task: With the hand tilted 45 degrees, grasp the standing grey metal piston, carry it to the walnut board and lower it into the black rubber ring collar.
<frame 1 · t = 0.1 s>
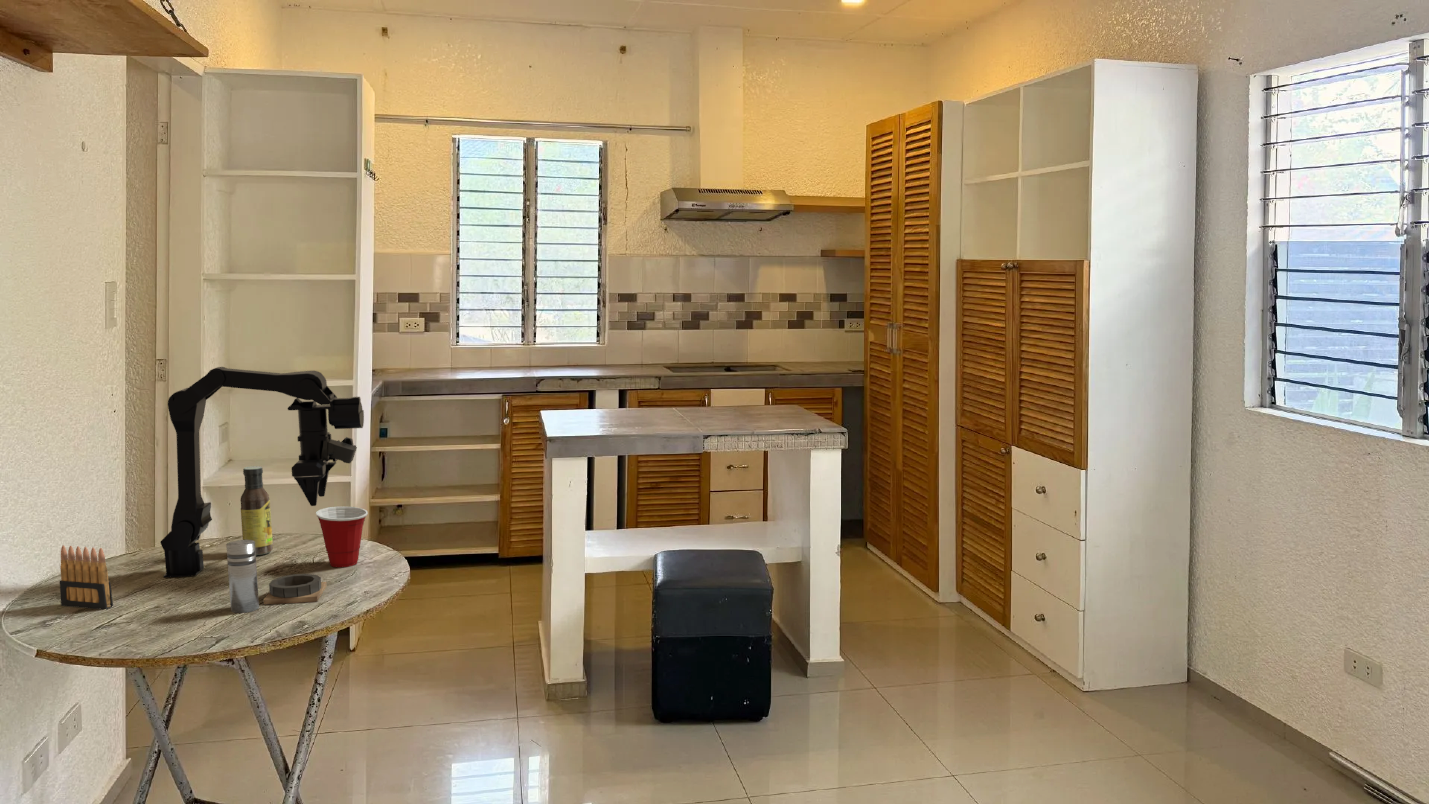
hand: (317, 501, 239), 15 cm above the table, tool pointing down, fingers open, 9 cm apart
ammunition clip: (87, 607, 215), on the table
plastic cup: (344, 564, 243), on the table
piston: (245, 608, 213), on the table
sauce bottle: (258, 554, 252), on the table
collar: (296, 595, 221), on the table
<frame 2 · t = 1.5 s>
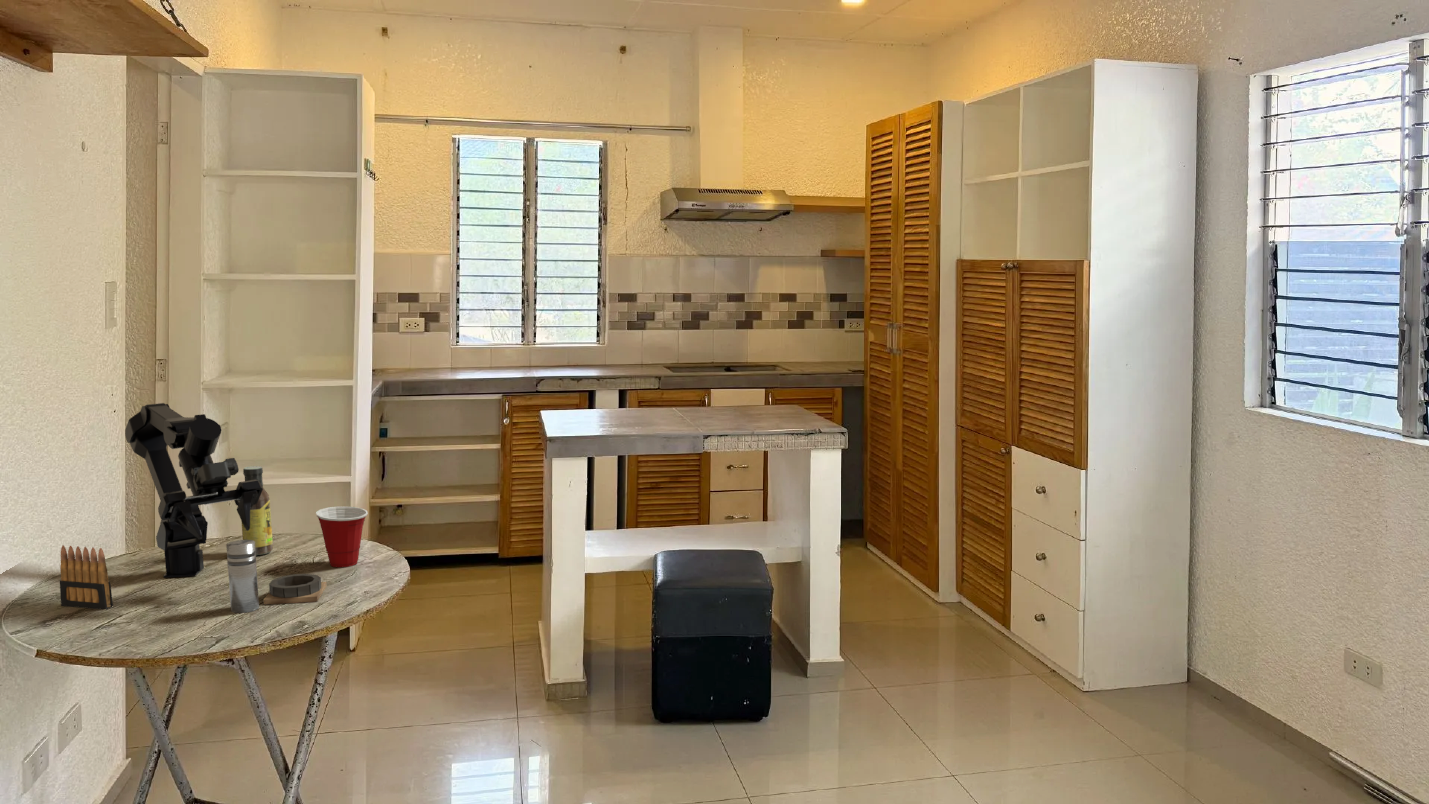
hand: (224, 533, 216), 13 cm above the table, tool tilted 45°, fingers open, 9 cm apart
nothing on the table moved.
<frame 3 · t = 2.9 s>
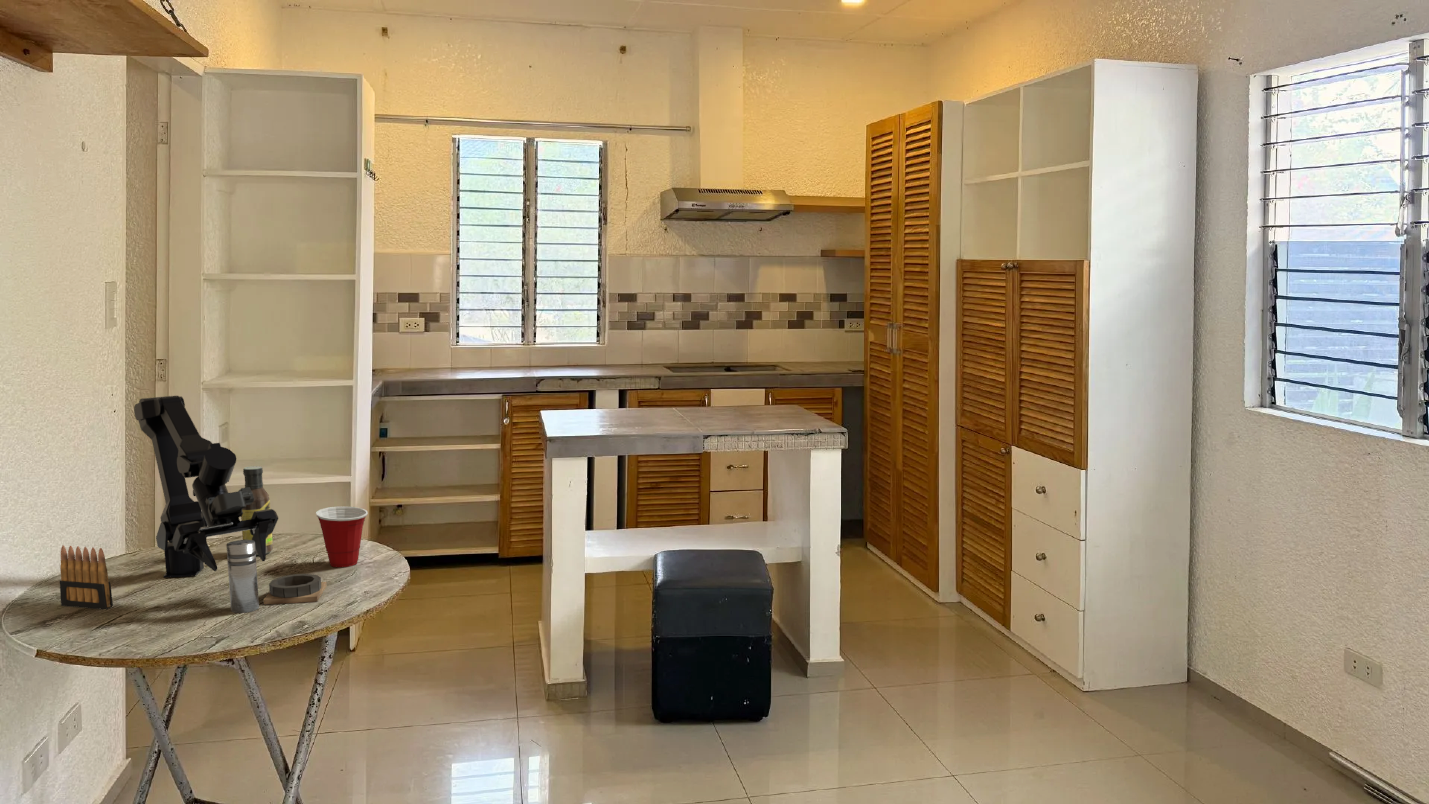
hand: (240, 564, 212), 9 cm above the table, tool tilted 45°, fingers open, 9 cm apart
nothing on the table moved.
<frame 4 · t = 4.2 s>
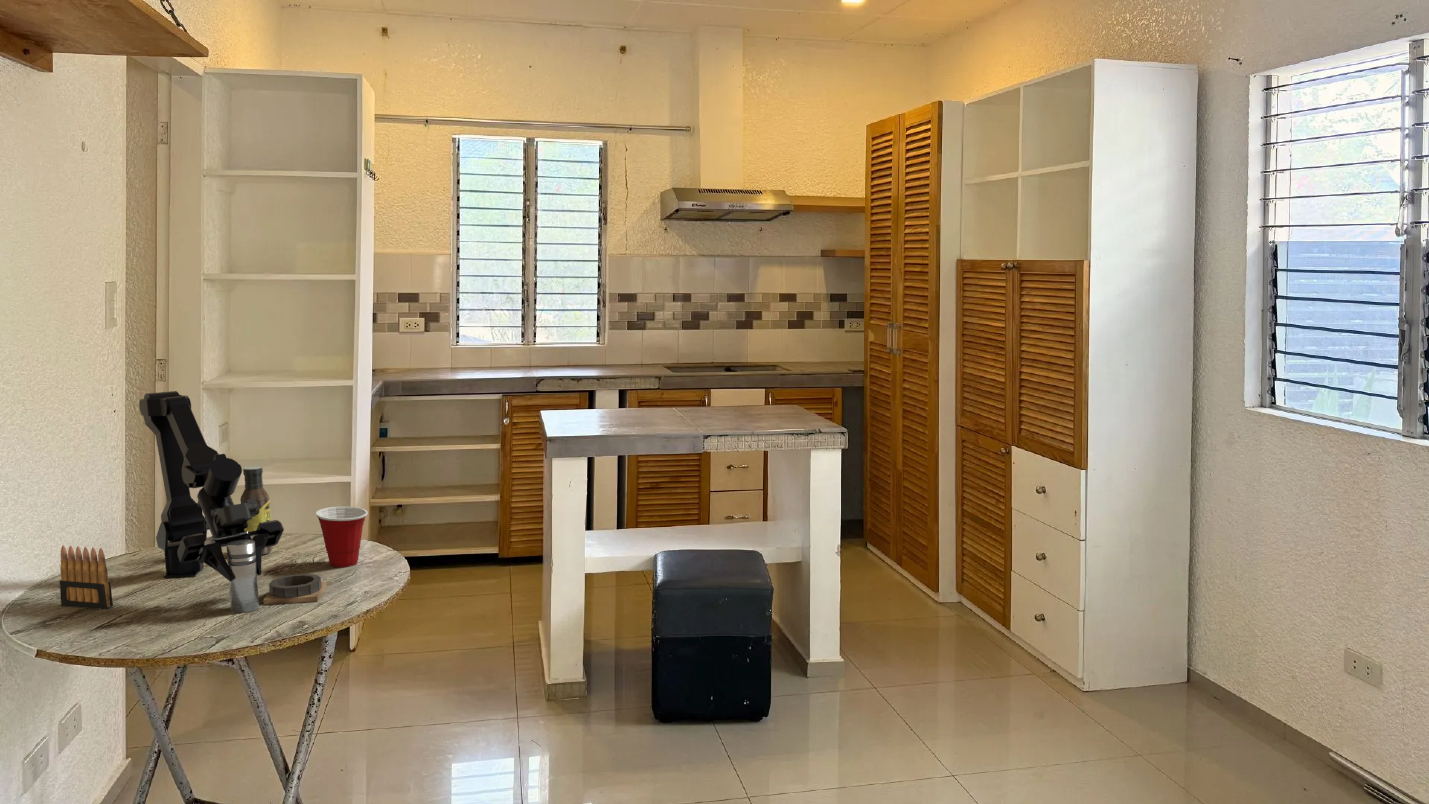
hand: (245, 577, 211), 7 cm above the table, tool tilted 45°, fingers closed on piston, 5 cm apart
piston: (245, 608, 213), on the table, touching gripper
everything else where it was.
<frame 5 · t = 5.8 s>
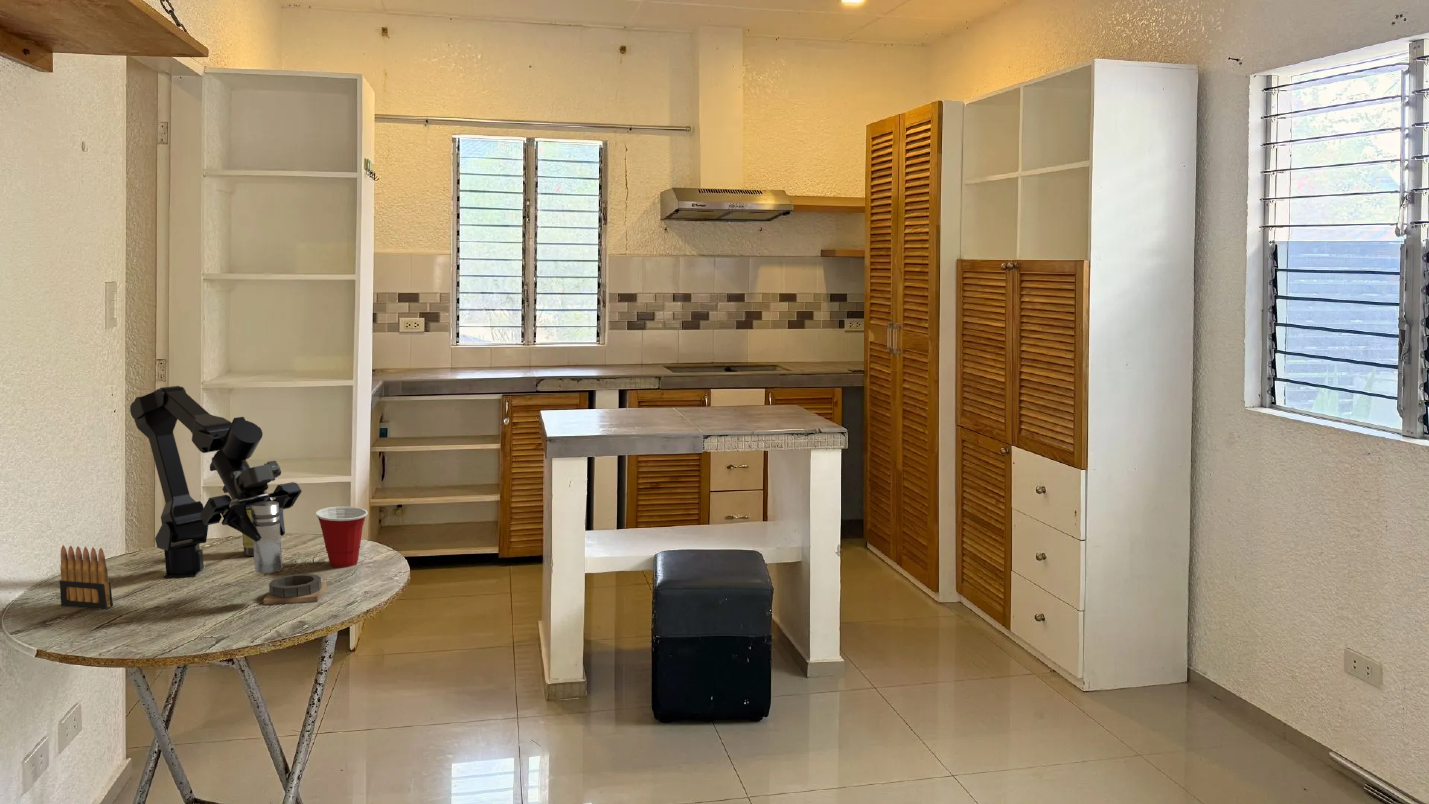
hand: (270, 537, 214), 13 cm above the table, tool tilted 45°, fingers closed on piston, 5 cm apart
piston: (268, 569, 215), point 7 cm above the table, touching gripper
everything else where it was.
when the fingers open (9 cm above the table, at t = 7.6 s): piston drops 1 cm, resting on collar.
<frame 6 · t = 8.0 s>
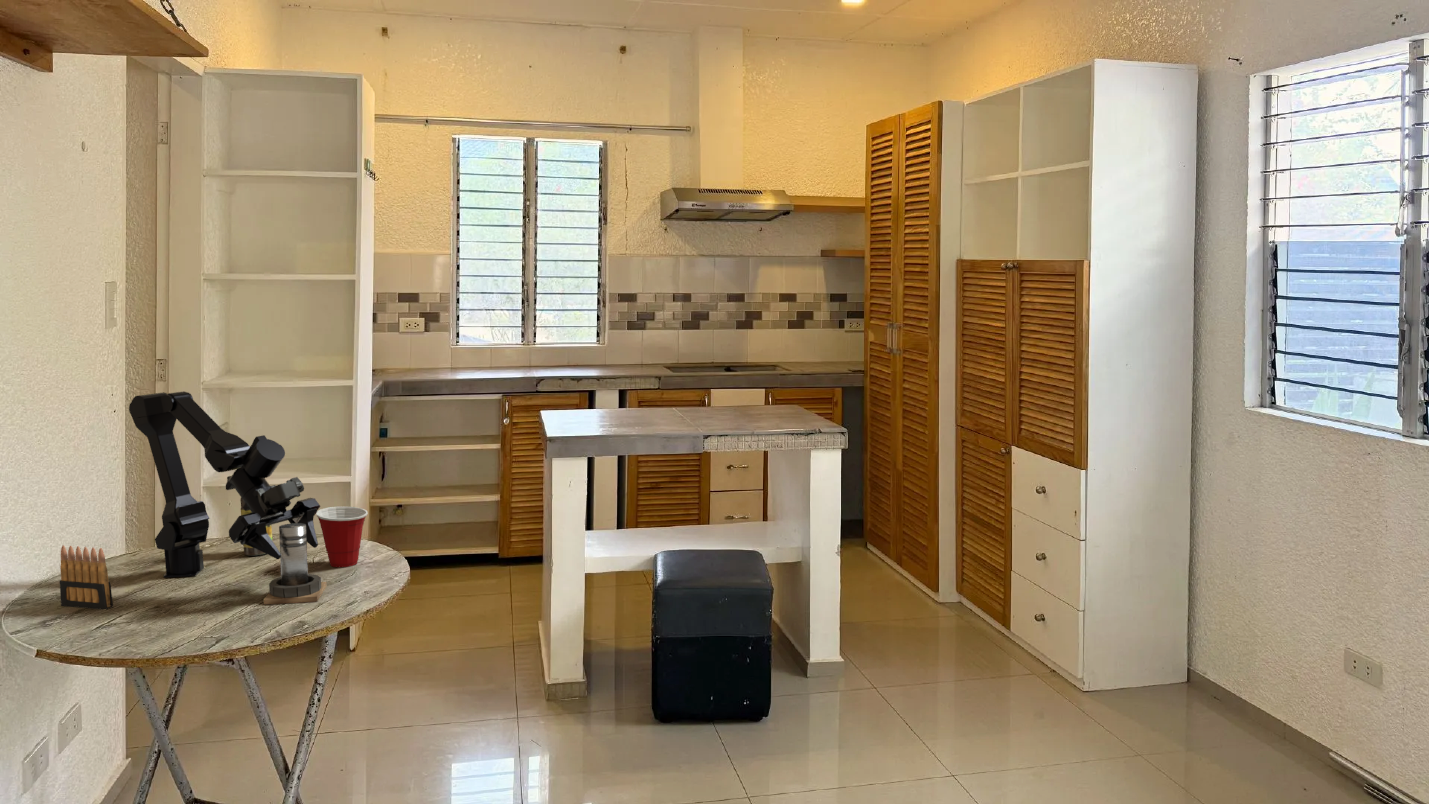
hand: (298, 552, 219), 9 cm above the table, tool tilted 45°, fingers open, 9 cm apart
piston: (295, 589, 221), point 1 cm above the table, touching collar
everything else where it was.
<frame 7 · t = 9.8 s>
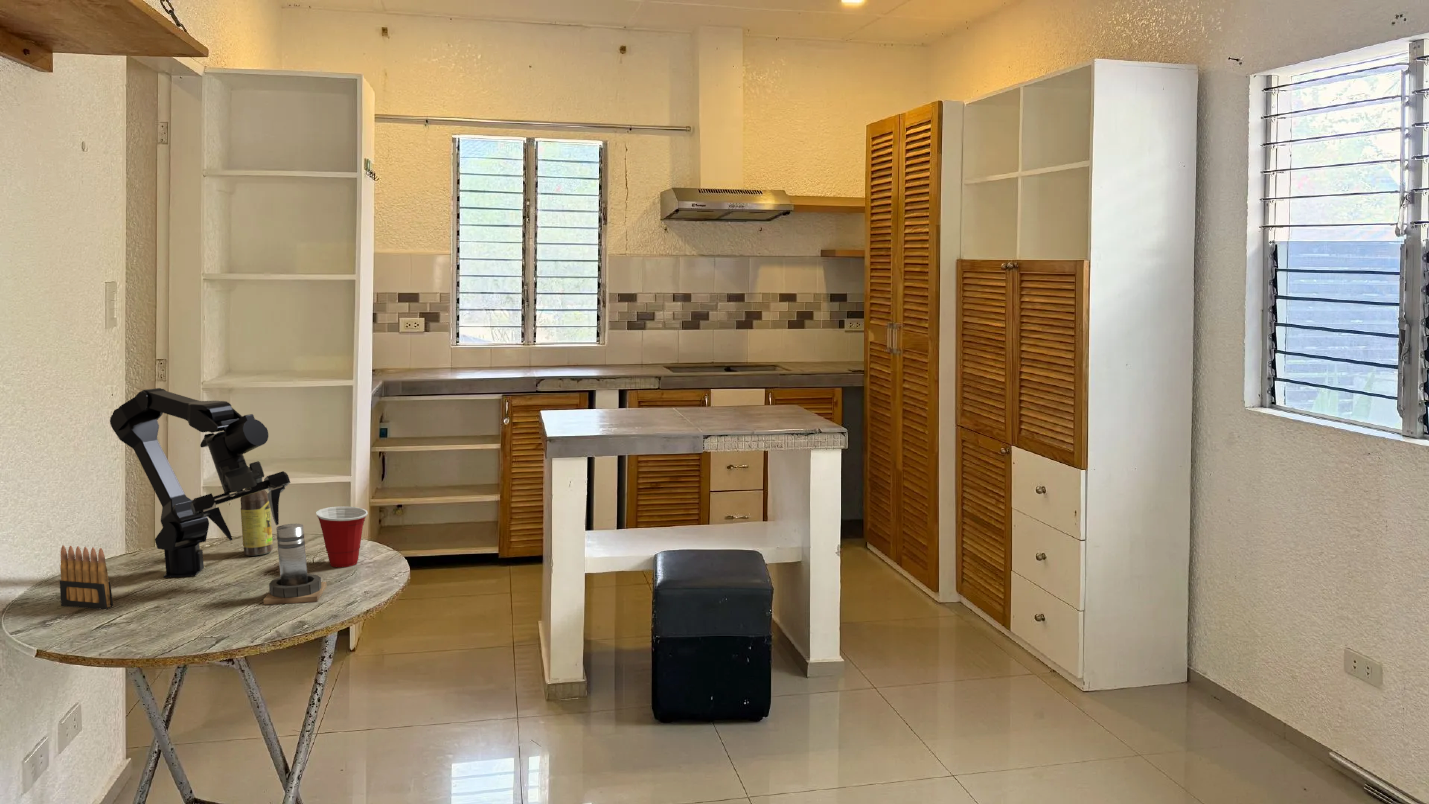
hand: (254, 532, 225), 11 cm above the table, tool tilted 20°, fingers open, 9 cm apart
nothing on the table moved.
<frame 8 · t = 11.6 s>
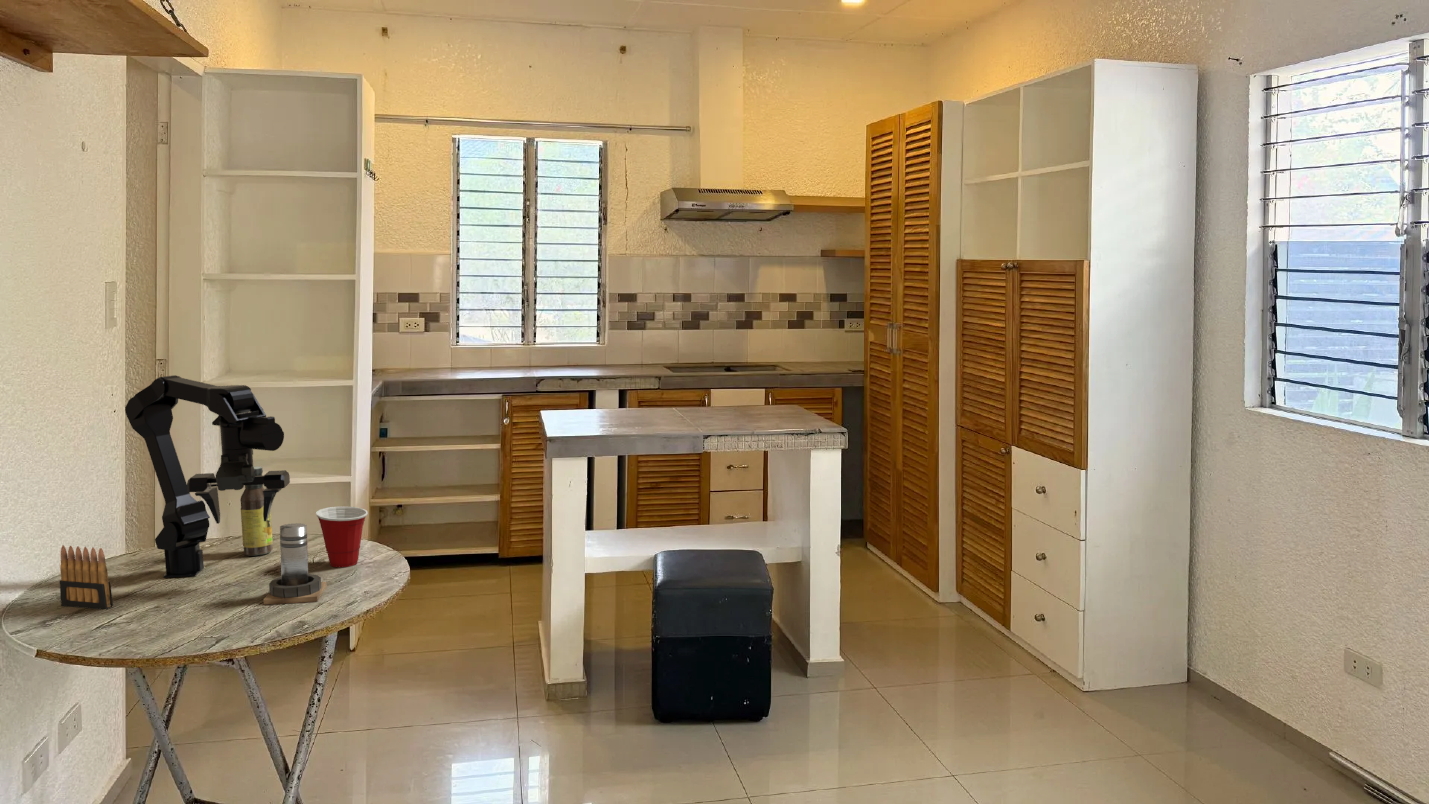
hand: (242, 522, 227), 13 cm above the table, tool pointing down, fingers open, 9 cm apart
nothing on the table moved.
at the end: piston 0.1 cm off-centre on the collar, point 1.1 cm above the collar's base; piston tilted 2°; the gripper is holding nothing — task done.
